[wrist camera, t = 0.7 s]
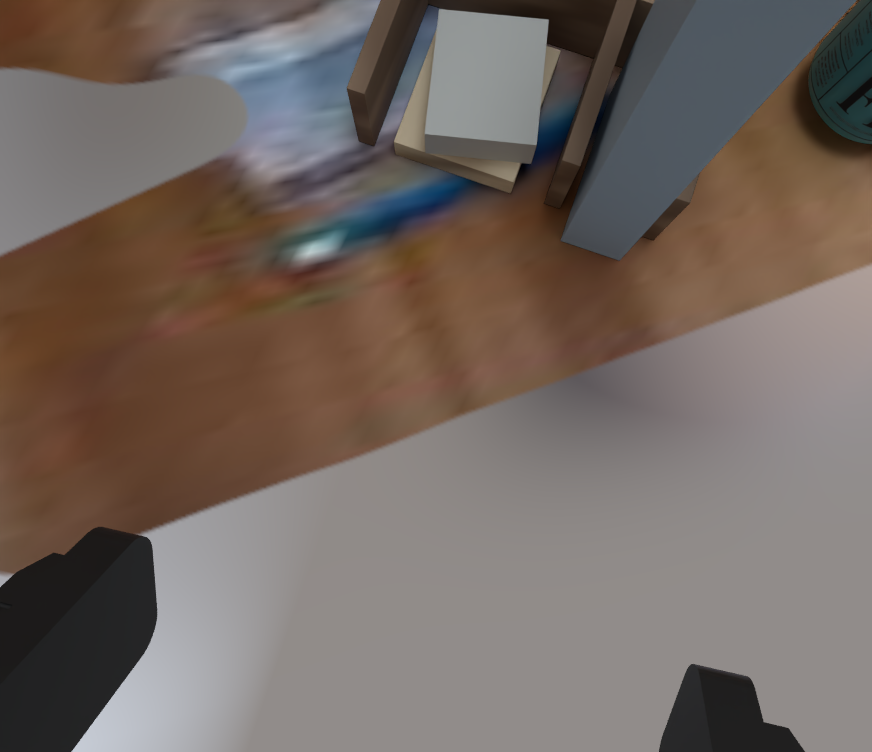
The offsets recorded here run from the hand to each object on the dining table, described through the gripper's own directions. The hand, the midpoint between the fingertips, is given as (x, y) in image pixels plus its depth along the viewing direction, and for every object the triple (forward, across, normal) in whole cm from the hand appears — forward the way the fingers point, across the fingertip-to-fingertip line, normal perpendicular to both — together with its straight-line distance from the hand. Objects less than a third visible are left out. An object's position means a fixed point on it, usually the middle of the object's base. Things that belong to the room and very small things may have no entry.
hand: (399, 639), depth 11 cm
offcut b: (+29, +3, -5) cm, 29 cm away
